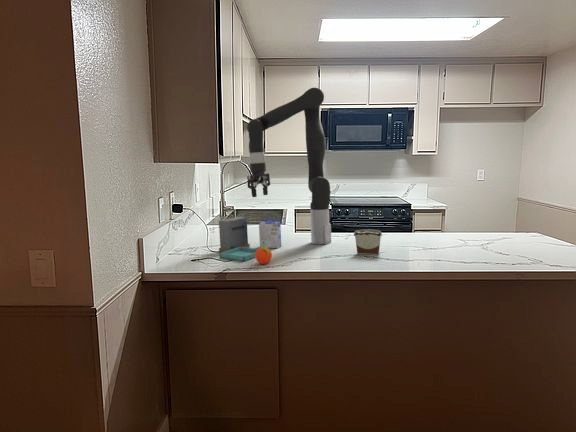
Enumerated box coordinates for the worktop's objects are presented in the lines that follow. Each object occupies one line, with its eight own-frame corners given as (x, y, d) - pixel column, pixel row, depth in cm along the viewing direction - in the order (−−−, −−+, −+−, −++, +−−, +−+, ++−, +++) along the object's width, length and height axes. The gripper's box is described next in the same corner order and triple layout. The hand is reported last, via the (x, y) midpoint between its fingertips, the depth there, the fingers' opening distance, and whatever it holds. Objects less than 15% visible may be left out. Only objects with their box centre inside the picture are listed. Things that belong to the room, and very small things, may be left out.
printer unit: (249, 247, 200) (248, 217, 198) (230, 253, 188) (228, 221, 186) (238, 246, 204) (237, 216, 202) (219, 252, 192) (217, 220, 190)
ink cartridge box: (281, 245, 201) (280, 216, 199) (279, 248, 196) (278, 218, 194) (262, 245, 204) (261, 217, 201) (259, 248, 198) (258, 218, 196)
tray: (264, 254, 184) (264, 249, 184) (244, 261, 173) (244, 256, 173) (241, 251, 193) (240, 246, 192) (220, 258, 181) (219, 253, 181)
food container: (383, 251, 182) (383, 229, 181) (382, 254, 176) (382, 232, 175) (356, 250, 186) (355, 228, 185) (353, 253, 180) (353, 231, 179)
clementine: (276, 264, 167) (276, 247, 166) (261, 267, 163) (261, 249, 162) (267, 260, 173) (266, 244, 172) (252, 263, 170) (251, 246, 169)
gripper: (254, 162, 187) (256, 197, 189) (272, 161, 198) (275, 194, 200) (241, 163, 191) (244, 197, 193) (260, 161, 202) (263, 194, 205)
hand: (260, 196), depth 197 cm, fingers open, 8 cm apart
